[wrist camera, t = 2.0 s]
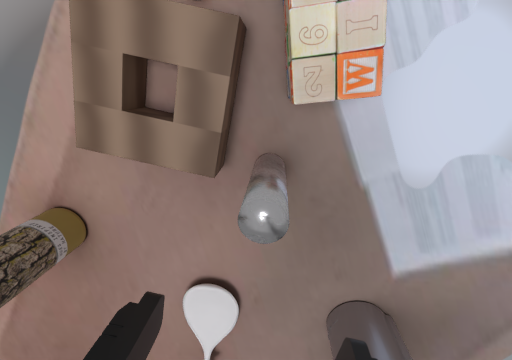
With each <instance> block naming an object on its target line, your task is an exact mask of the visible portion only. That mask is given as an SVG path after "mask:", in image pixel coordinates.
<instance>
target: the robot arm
mask: <svg viewBox="0 0 512 360" xmlns="http://www.w3.org/2000/svg"><path fill="white" fill-rule="evenodd" d="M163 308H164V295H161V294H157V293H152V292H146V293H145V294H144V296H143V297H142V299H141V300H140V302H139V303H138V304H137V303H132V302H129V303H128V304H127V305H125V306H124V307H123V308H121V309H120V310H119V311H118V312H117V313H116V314H115V316H114V317H113V319H112V320H111V321H110V323H109V325H108V326H107V327H106V328H105V330H104V331H103V333H102V335H101V336H100V337H99V338H98V340H97V341H96V342H95V344H94V345H93V347H92V348H91V349H90V351H89V352H88V353H87V355H86V356H85V358H84V359H83V360H146V358H147V356H148V354H149V352H150V350H151V348H152V346H153V344H154V342H155V340H156V338H157V335H158V333H159V330H160V327H161V324H162V319H163ZM327 330H328V337H329V340H330V346H331V351H332V356H333V360H413V359H412V357H411V355H410V353H409V351H408V349H407V347H406V345H405V343H404V341H403V339H402V337H401V335H400V333H399V331H398V329H397V327H396V325H395V323H394V321H393V319H392V317H391V316H389V315H386V314H384V313H383V312H382V311H381V309H379V308H378V307H377V306H375V305H373V304H370V303H366V302H358V301H356V302H349V303H345V304H342V305H340V306H338V307H337V308H335V309H334V310H333V311H332V312H331V313H330V315H329V316H328V319H327Z"/></svg>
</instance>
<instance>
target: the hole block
mask: <svg viewBox="0 0 512 360" xmlns="http://www.w3.org/2000/svg"><path fill="white" fill-rule="evenodd" d="M69 9H70V29H71V49H72V70H73V90H74V110H75V131H76V147H77V148H82V149H86V150H91V151H95V152H99V153H104V154H108V155H113V156H117V157H122V158H126V159H131V160H135V161H140V162H144V163H149V164H153V165H158V166H162V167H167V168H171V169H175V170H180V171H184V172H189V173H193V174H198V175H202V176H207V177H211V178H215V176H216V175H217V173H218V172H219V171H220V169H221V168H222V166H223V164H224V158H225V152H226V146H227V140H228V134H229V128H230V122H231V116H232V110H233V104H234V98H235V92H236V86H237V80H238V74H239V68H240V62H241V56H242V50H243V44H244V38H245V32H246V27H245V25H244V23H243V21H242V20H241V18H240V16H237V15H233V14H228V13H224V12H219V11H214V10H210V9H205V8H201V7H196V6H191V5H187V4H182V3H178V2H173V1H168V0H69ZM147 59H152V60H156V61H161V62H165V63H170V64H174V65H178V73H177V84H176V96H175V107H174V114H173V113H168V112H164V111H159V110H155V109H150V108H146V107H145V97H146V76H147Z"/></svg>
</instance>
